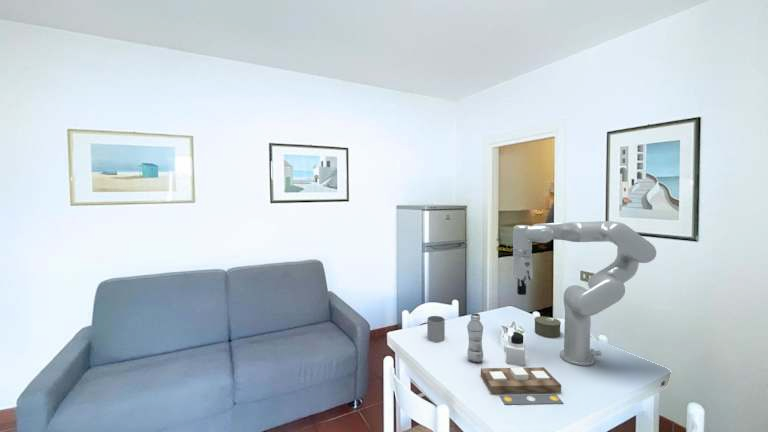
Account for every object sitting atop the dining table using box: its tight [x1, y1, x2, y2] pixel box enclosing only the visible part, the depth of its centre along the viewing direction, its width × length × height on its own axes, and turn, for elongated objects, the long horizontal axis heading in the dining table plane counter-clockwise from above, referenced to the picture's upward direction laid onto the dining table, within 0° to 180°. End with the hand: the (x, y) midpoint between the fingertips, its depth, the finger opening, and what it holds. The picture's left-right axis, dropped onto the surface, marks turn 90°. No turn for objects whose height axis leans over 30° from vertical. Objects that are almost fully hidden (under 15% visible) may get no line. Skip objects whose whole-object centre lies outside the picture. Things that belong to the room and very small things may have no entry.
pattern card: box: [498, 393, 564, 406], centre depth 110 cm, size 20×5×1 cm, turn 91°
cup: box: [426, 315, 446, 343], centre depth 159 cm, size 8×8×10 cm
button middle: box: [509, 367, 528, 380], centre depth 119 cm, size 5×5×3 cm
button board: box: [480, 366, 562, 395], centre depth 120 cm, size 25×12×3 cm, turn 91°
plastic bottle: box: [466, 312, 484, 363], centre depth 137 cm, size 6×7×20 cm
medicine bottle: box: [505, 331, 526, 367], centre depth 136 cm, size 7×7×12 cm
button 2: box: [531, 371, 550, 380], centre depth 120 cm, size 5×5×3 cm
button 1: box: [489, 371, 507, 381], centre depth 119 cm, size 5×5×3 cm
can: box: [534, 316, 562, 339], centre depth 164 cm, size 12×12×7 cm
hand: (521, 294), depth 141 cm, fingers closed
